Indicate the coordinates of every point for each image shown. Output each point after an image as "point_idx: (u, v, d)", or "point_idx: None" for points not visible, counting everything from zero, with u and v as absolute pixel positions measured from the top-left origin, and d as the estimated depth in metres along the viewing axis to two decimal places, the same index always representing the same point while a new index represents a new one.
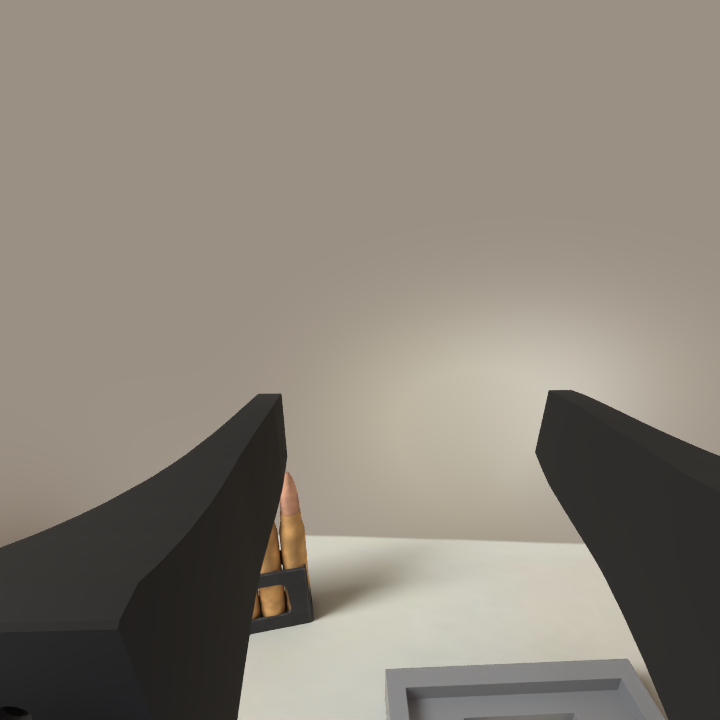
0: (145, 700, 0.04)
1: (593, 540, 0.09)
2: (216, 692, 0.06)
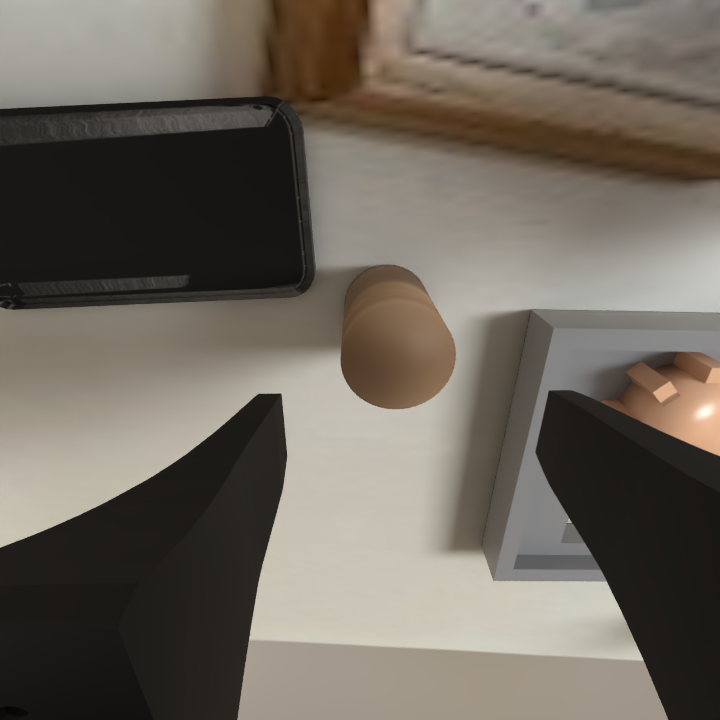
0: (144, 701, 0.04)
1: (593, 540, 0.09)
2: (216, 692, 0.06)
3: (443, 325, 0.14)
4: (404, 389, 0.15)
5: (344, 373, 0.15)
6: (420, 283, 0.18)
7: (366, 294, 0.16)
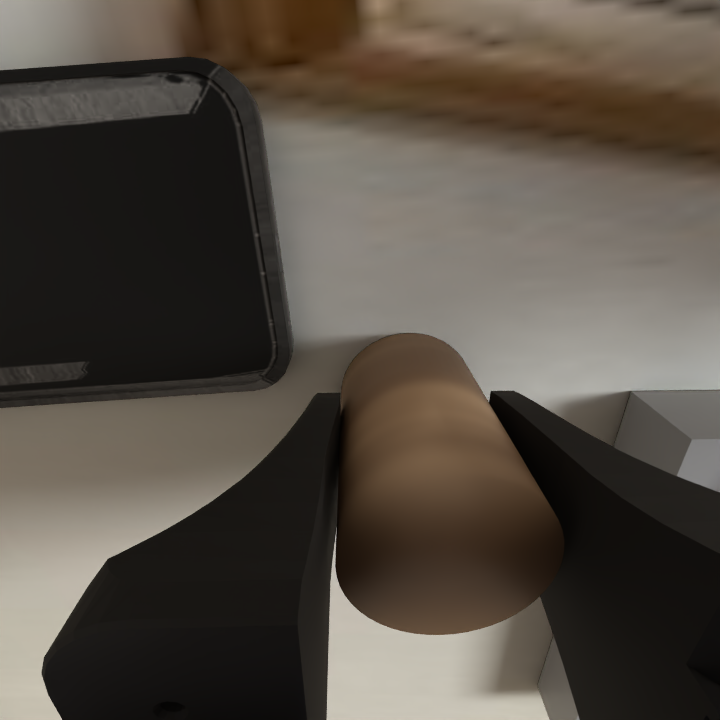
0: (303, 697, 0.04)
1: None
2: (321, 689, 0.06)
3: (544, 506, 0.07)
4: (459, 606, 0.08)
5: (344, 587, 0.07)
6: (464, 367, 0.11)
7: (380, 414, 0.09)
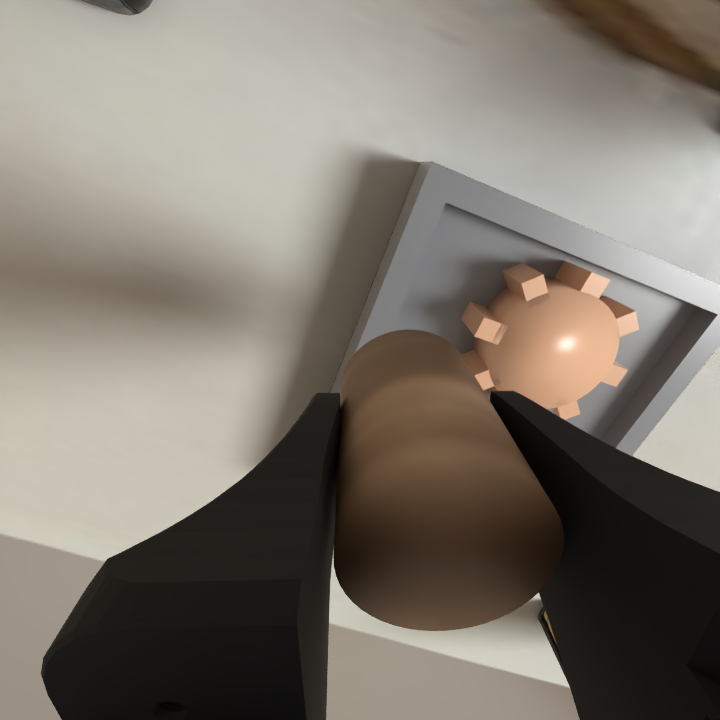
0: (302, 696, 0.04)
1: None
2: (321, 689, 0.06)
3: (540, 496, 0.07)
4: (461, 600, 0.08)
5: (344, 586, 0.07)
6: (461, 361, 0.11)
7: (374, 412, 0.09)
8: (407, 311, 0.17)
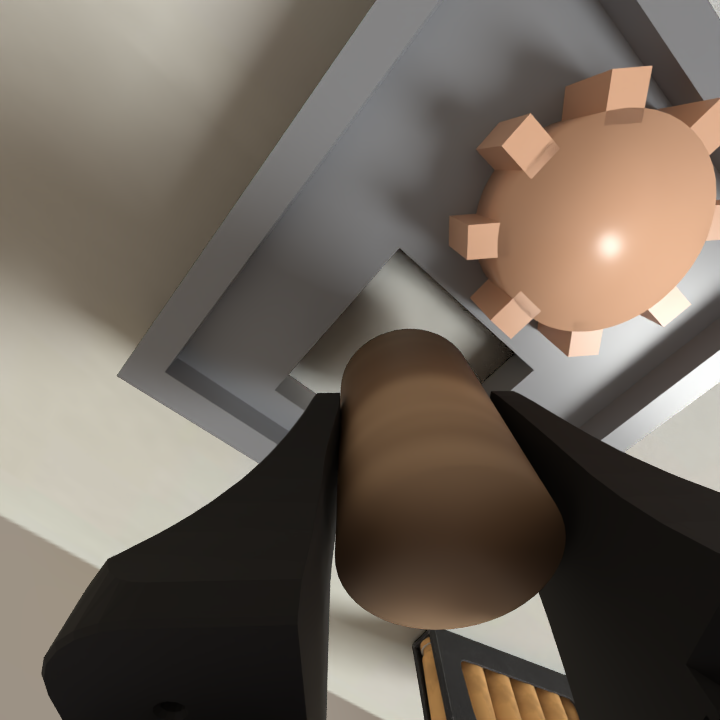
0: (303, 697, 0.04)
1: None
2: (321, 689, 0.06)
3: (540, 492, 0.07)
4: (465, 599, 0.08)
5: (346, 586, 0.07)
6: (460, 359, 0.11)
7: (373, 411, 0.09)
8: (399, 99, 0.10)
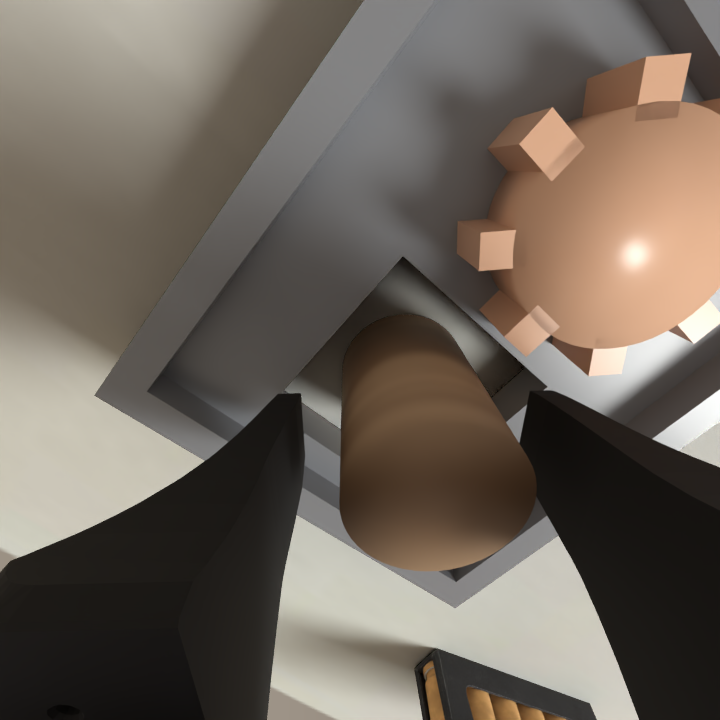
0: (198, 700, 0.04)
1: (570, 540, 0.09)
2: (251, 691, 0.06)
3: (513, 445, 0.08)
4: (451, 542, 0.09)
5: (349, 531, 0.09)
6: (451, 341, 0.12)
7: (372, 383, 0.10)
8: (404, 92, 0.09)
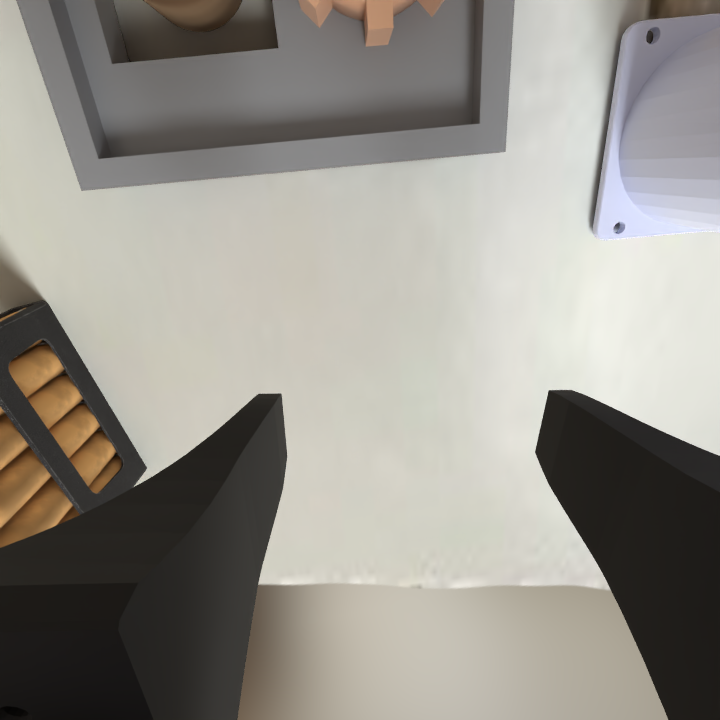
0: (144, 701, 0.04)
1: (593, 540, 0.09)
2: (216, 692, 0.06)
3: None
4: None
5: None
6: None
7: None
8: None
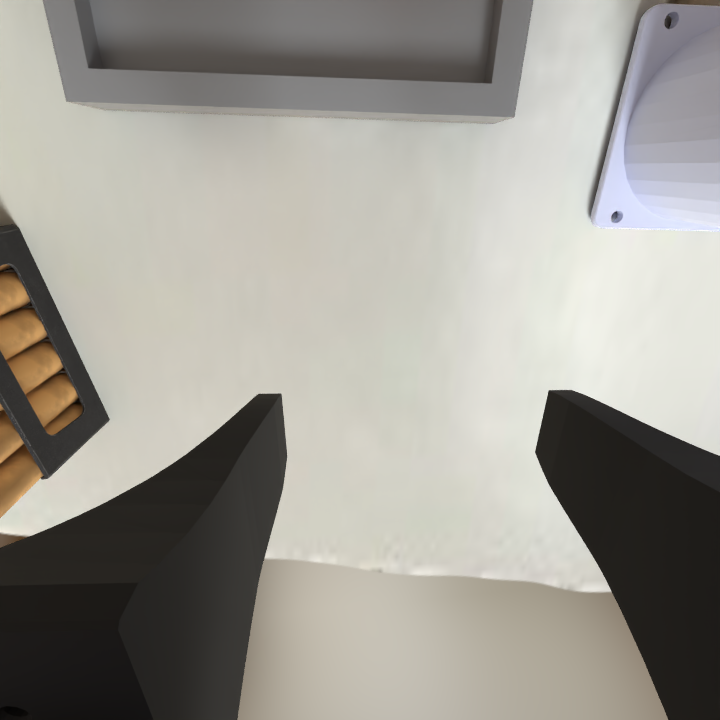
0: (145, 701, 0.04)
1: (593, 540, 0.09)
2: (216, 692, 0.06)
3: None
4: None
5: None
6: None
7: None
8: None
